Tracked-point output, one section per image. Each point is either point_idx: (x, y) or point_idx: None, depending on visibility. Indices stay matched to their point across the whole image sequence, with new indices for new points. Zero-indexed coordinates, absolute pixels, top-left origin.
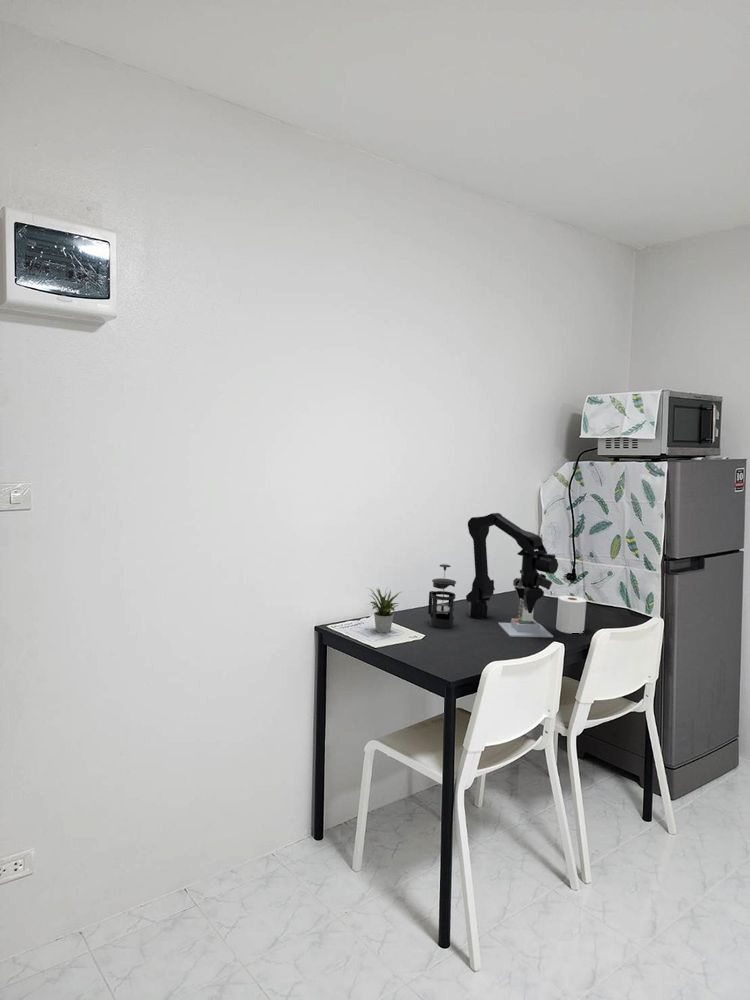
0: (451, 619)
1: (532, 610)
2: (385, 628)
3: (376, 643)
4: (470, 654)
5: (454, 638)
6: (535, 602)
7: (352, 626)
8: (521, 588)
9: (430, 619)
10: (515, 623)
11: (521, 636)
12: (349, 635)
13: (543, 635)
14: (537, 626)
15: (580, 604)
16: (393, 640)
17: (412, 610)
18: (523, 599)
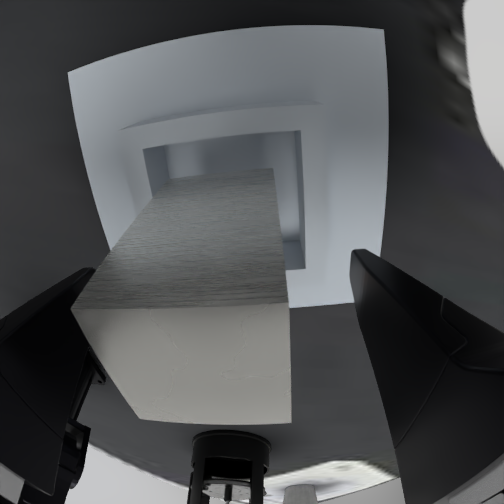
0: (257, 461)
1: (385, 261)
2: (315, 493)
3: (374, 481)
4: None
5: (368, 429)
6: (487, 326)
7: (276, 500)
8: (2, 464)
9: (240, 472)
10: None
11: (379, 239)
12: (327, 497)
13: (379, 94)
14: (324, 127)
15: None
16: (362, 476)
17: (114, 452)
18: (201, 413)
